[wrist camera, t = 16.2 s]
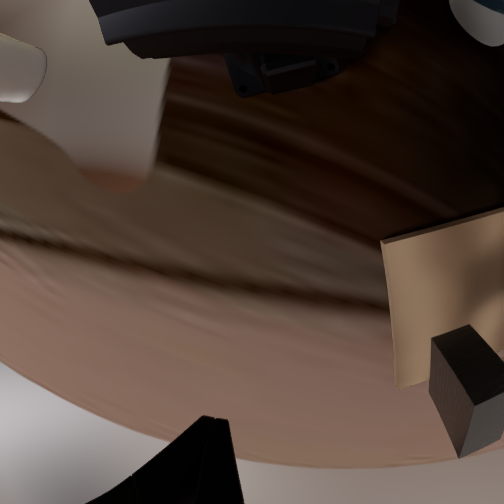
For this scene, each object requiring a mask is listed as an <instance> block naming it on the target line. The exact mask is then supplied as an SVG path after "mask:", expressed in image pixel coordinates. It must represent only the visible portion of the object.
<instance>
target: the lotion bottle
mask: <svg viewBox="0 0 504 504" xmlns="http://www.w3.org/2000/svg"><path fill="white" fill-rule="evenodd" d="M449 3H450V7H451V10H452V12H453V14H454V16H455V18H456V19H457V21H458V22H459V23H460V25H461V26H462V27H463V28H464V29H465V30H466V31H467V32H468V33H469V34H470V35H471V36H472V37H473V38H475V39H476V40H478V41H479V42H481V43H483V44H486V45H488V46H499V45H502V44H504V0H449Z"/></svg>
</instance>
